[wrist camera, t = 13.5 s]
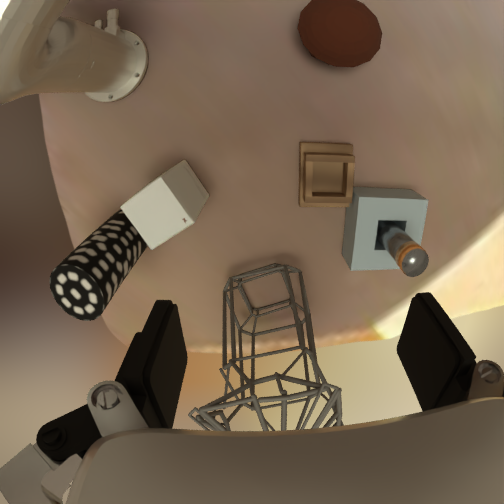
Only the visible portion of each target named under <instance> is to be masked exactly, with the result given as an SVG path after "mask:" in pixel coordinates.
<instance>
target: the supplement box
mask: <svg viewBox="0 0 504 504" xmlns="http://www.w3.org/2000/svg"><path fill="white" fill-rule="evenodd" d="M208 197H209V194H208V193H207V191H206V190H205V188H204V187H203V185H202V184H201V182H200V181H199V179H198V178H197V176H196V175H195V173H194V172H193V170H192V169H191V167H190V166H189V164H188V163H187V162H186V160H182V161H181V162H179V163H178V164H176V165H175V166H173V167H172V168H170V169H169V170H167V171H166V172H164V173H163V174H161V175H160V176H159V177H157V178H156V179H154V180H153V181H152V182H150V183H149V184H148V185H146V186H145V187H144V188H142V189H141V190H140V191H138V192H137V193H136V194H135V195H133V196H132V197H131V198H130V199H129V200H127V201H126V202H125V203H124V204H123V205H122V206H121V207H120V208H121V209H122V210H123V212H124V213H125V215H126V216H127V217H128V219H129V220H130V221H131V223H132V224H133V225H134V227H135V228H136V229H137V231H138V232H139V234H140V235H141V236H142V238H143V239H144V241H145V242H146V243H147V245H148V246H149V248H150V249H151V250H152V249H154V248H156V247H158V246H159V245H161V244H162V243H164V242H165V241H167V240H168V239H170V238H172V237H173V236H175V235H176V234H178V233H179V232H181V231H182V230H184V229H186V228H187V227H189V226H190V225H192V224H194V223H195V221H196V219H197V217H198V216H199V214H200V212H201V210H202V208H203V206H204V205H205V203H206V201H207V199H208Z"/></svg>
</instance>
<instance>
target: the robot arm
mask: <svg viewBox="0 0 504 504" xmlns="http://www.w3.org/2000/svg"><path fill="white" fill-rule="evenodd" d="M68 2H69V0H0V105H2V104H4V103H7V102H10V101H12V100H14V99H17V98H20V97H22V96H26V95H30V94H38V93H66V92H84V93H85V94H86V95H87V96H88V97H90V98H91V99H93V100H95V101H99V102H113V101H117V100H120V99H122V98H124V97H126V96H127V95H129V94H130V93H131V92H133V91H134V90H135V88H136V87H137V86H138V85H139V84H140V82H141V81H142V79H143V77H144V75H145V73H146V69H147V65H148V52H147V49H146V46H145V44H144V42H143V41H142V39H141V38H140V37H139V36H138V35H136V34H134V33H132V32H130V31H128V30H122V29H120V26H118V19H119V10H118V9H111V10H108V11H107V27H106V28H105V31H104V30H102V27H103V20H97V21H95V25H94V26H92V25H89V24H87V23H84V22H81V21H79V20H76V19H73V18H69V17H59V16H60V14H61V13H62V11H63V10H64V8H65V7H66V5H67V3H68ZM138 43H139V45H138ZM139 74H140V76H139V77H138V75H139ZM112 96H113V98H112ZM397 354H398V356H399V358H400V360H401V362H402V365H403V367H404V369H405V371H406V374H407V376H408V378H409V380H410V382H411V385H412V387H413V389H414V392H415V394H416V396H417V399H418V401H419V404H420V406H421V408H422V411H423V412H419V413H415V414H410V415H405V416H400V417H395V418H390V419H384V420H379V421H372V422H366V423H360V424H352V425H345V426H335V427H326V428H315V429H302V430H285V431H206V430H187V429H172V427H173V423H174V418H175V413H176V409H177V404H178V400H179V395H180V391H181V387H182V382H183V378H184V373H185V369H186V365H187V351H186V347H185V342H184V337H183V332H182V328H181V323H180V318H179V312H178V307H177V305H176V304H173V303H172V301H171V300H156V302H155V304H154V306H153V308H152V310H151V313H150V315H149V317H148V319H147V322H146V324H145V326H144V328H143V330H142V332H137V333H136V334H135V336H134V338H133V340H132V342H131V344H130V347H129V349H128V351H127V353H126V356H125V358H124V360H123V362H122V365H121V367H120V369H119V372H118V374H117V376H116V379H115V381H103V382H100V383H98V384H96V385H95V386H94V387H93V388H91V389H90V391H89V393H88V396H87V403H88V404H86V405H84V406H82V407H80V408H78V409H76V410H74V411H72V412H69V413H67V414H65V415H64V416H61V417H59V418H57V419H55V420H52V421H50V422H48V423H46V424H45V425H43V426H42V427H41V428H40V430H39V432H38V434H37V439H36V441H37V442H36V443H35V444H34V445H31V443H30V444H29V445H28V446H26V447H25V448H24V449H23V450H22V451H20V452H19V453H18V454H17V455H16V456H15V457H13V458H12V459H11V460H10V461H9V462H7V463H6V464H5V465H4V466H3V467H2V468H1V469H0V491H1V492H2V494H3V496H4V497H5V499H6V500H7V501H8V503H9V504H63V503H62V497H63V494H64V493H65V491H66V490H67V489H68V488H69V487H70V486H71V488H70V492H69V495H68V498H67V501H66V504H504V373H503V370H502V369H501V367H500V366H499V365H498V364H496V363H495V362H493V361H489V360H482V361H479V362H478V363H476V361H475V358H476V356H475V354H474V352H473V351H472V349H471V348H470V346H469V345H468V344H467V342H466V341H465V339H464V338H463V336H462V335H461V333H460V332H459V331H458V329H457V328H456V327H455V325H454V324H453V322H452V321H451V319H450V318H449V317H448V315H447V314H446V312H445V311H444V310H443V308H442V307H441V306H440V304H439V303H438V302H437V300H436V299H435V298H434V297H433V295H432V294H431V293H429V292H426V293H417V294H416V295H415V297H413V298H412V300H411V304H410V307H409V311H408V314H407V317H406V320H405V324H404V327H403V330H402V333H401V336H400V339H399V342H398V345H397ZM72 480H73V482H72V485H70V484H69V483H71V481H72Z"/></svg>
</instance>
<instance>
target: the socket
mask: <svg viewBox="0 0 504 504" xmlns="http://www.w3.org/2000/svg"><path fill="white" fill-rule="evenodd" d="M427 205H428V200H427V199H426V198H424V197H423V196H421V195H420V194H418V193H416V192H415V191H413V190H409V189H392V188H371V187H353V194H352V203H349V207H346V217H345V228H344V238H343V248H342V255H343V257H344V259H345V261H346V262H347V264H348V266H349V268H350V270H351V271H353V270H383V269H400V268H399V266H398V265H397V264H396V261H395V260H394V259H393V258H392V256H391V255H390V254H389V253H388V252H387V250H386V249H385V248H384V247H383V246H382V244H381V243H380V242H379V241H378V240H377V238H376V234H377V227H378V220H393V221H394V222H395V223H396V224H397V225H398V226H399V227H400V228H401V229H402V230H403V231H404V232H405V233H407V234H408V235H409V236H410V237H411V238H412V239H413V240H414V241H415V242H416V243H418V244H419V245H421V240H422V234H423V229H424V224H425V218H426V212H427Z"/></svg>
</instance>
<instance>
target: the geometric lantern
mask: <svg viewBox="0 0 504 504" xmlns="http://www.w3.org/2000/svg"><path fill="white" fill-rule="evenodd" d="M273 266H275V267H273ZM270 267H273V268H270ZM266 268H269V269H266ZM283 268H284V269H283ZM263 269H264V270H263ZM288 269H290V270H293V271H288ZM280 270H281V271H280ZM284 270H285V271H284ZM270 271H273V272H270ZM266 272H269V273H266ZM277 272H279V273H281V274H282V276H283V279H284V281H285V284H286V287H287V289H288V292H289V294H290V299H289V300H286V301H283V302H279V303H276V304H273V305H269V306H266V307H262V308H259V309H255V308H252V307H251V305H250V303H249V301H248V299H247V296H246V294H245V292H244V290H243V288H242V285H241V283H245V282H248V281H251V280H254V279H258V278H261V277H264V276H267V275H270V274H273V273H277ZM297 272H298V273H299V279H300V286H301V293H302V300H303V307H304V309H303V308H302V307H301V306H299V305H298V304H297V303H295V299H294V295H293V290H292V285H291V281H290V276H289V273H297ZM262 273H266V274H263V275H260V276H257V277H254V278H250V279H247V280H244V281H242V278H244V277H248V276H253V275H257V274H262ZM235 279H238V280H235ZM233 281H234V282H237V283H238V286H236V287H233ZM229 284H230V289H227V288H228V286H229ZM237 288H238V289H239V291H240V293H241V295H242V297H243V299H244V301H245V303H246V305H247V307H248V309H249V311H250V313H251V315H250V316H249V317H248V319H247V320H246V321H245V322H244V323H243V325H242V326H241V327H240V325H239V322H238V320H237V317H236V315H235V312H234V298H233V290H234V289H237ZM240 288H241V289H240ZM241 290H242V291H241ZM228 291H230V300H229V297H228V295H227V292H228ZM242 292H243V293H242ZM226 301H227V303H228V306H229V308H230V318H231V348H232V359H230V360H229V363H228V364H227V331H226ZM286 302H289V305H288V306H285V307H282V308H278V309H275V310H272V311H269V312H266V313H263V314H260V315H259V310H262V309H266V308H269V307H273V306H276V305H280V304H283V303H286ZM296 306H297V307H299V308H300V309H301V310H302V311H304V314H305V318H304V319H303V320H302V321H300V319H299V317H298V313H297V309H296ZM288 307H291V308H292V310H293V314H294V319H295V324H292V325H288V326H284V327H280V328H275V329H271V330H266V331H262V332H257V333H254V332H255V327H256V321H257V317H260V316H263V315H266V314H269V313H273V312H276V311H279V310H282V309H285V308H288ZM253 310H255V311H257V315H255V314H253ZM252 316H255V321H254V327H253V332H252V333H250V332H247V331H245V330H243V329H242V328H243V327H244V325H245V324H246V323H247V322H248V320H249V319H250V318H251V317H252ZM304 322H306V330H307V337H308V345H309V349H308V347H305V339H304V331H303V324H304ZM235 323H236V325H237V328H238V336H239V358H236V342H235ZM292 327H296V329H297V335H298V340H299V345H300V346H296V347H291V348H287V349H282V350H277V351H272V352H267V353H262V354H257V355H255V336H257V335H262V334H266V333H271V332H275V331H280V330H284V329H288V328H292ZM241 332H242V333H245V334H247V335H250V336H252V350H251V356H247V357H243V356H242V336H241ZM296 349H301V350H302V353H301V354H300V355H299V356H298V357H297V358H296V359H295V360H294V362H293V363H292V364H291V365H290V366H289V367H288V368H287V369H286V370H285V372H284V373H283V374H278V373H277V372H275V374H274V375H270V376H267V377H263V378H259V379H256V380H255V376H254V375H255V372H254V370H255V368H254V367H255V364H254V363H255V358H258V357H263V356H268V355H272V354H278V353H283V352H287V351H292V350H296ZM306 354H308V355H309V357H310V359H311V361H312V365H313V370H314V374H315V379H316V382H311V381H309V373H308V364H307V356H306ZM302 355H303V358H304V367H305V377H306V380H303V379H298V378H293V377H290V376H286V375H285V374H286V373H287V372H288V371H289V370H290V369H291V368H292V367H293V366H294V364H295V363H296V362H297V361H298V360H299V359H300V357H301V356H302ZM247 359H251V379H249V378H248V377H247V376H246V375H245V374H244V372H243V360H247ZM236 361H240V368H239V367H238V366H237V365H236V364H235V363H236ZM231 366H233V367H234V369H235V370H236V371H237V372H238V373H239V375H240V382H241V387H240V388H238V389H236V390H234V389H233V387H232V386H231V384H230V382H229V371H230V367H231ZM223 369H224V370H226V369H227V376H226V375H225V373H224V371H223V370H222V368H220V369H219V370H220V372H221V374H222V375H223V377H224V379H225V381H226V384H225V394H224V396H222V397H221V398H218V399H216V400H215V401H213V402H211V403H209V404H207V405H205V406H202V407H200V408H199V410H198V409H197V408H196V407H195V408H194V409H193V410H192V411H191V412H190V413H189V414H188V416H189V417H190V418H191V419H193V420H194V421H195V422H196V423H197V424H199V425H200V426H201V427H202V428H204V429H205V430H206V431H210V430H209V429H208V428H210V429H212V430H213V431H231V430H230V426H229V422H230V420H231V419H232V418H233V417H234V416H235V414H236V413H237V412H238V411H239V410H240V408H241V407H242V406H243V405H244V406H246V407H247V408H249V409H251V410H255V411H256V412H257V415H258V418H259V421H260V423H261V426H262V429H263V431H269V430H268V427H267V425H268V426H269V427H270V428H271V429H272V431H275V430H274V429H273V427H272V426H271V425H270V424H269V423H268V422H267V421H266V419H265V418H264V416H263V413H262V410H261V409H265V408H271V407H276V406H281V407H282V408H281V409H282V410H281V431H285V430H286V424H287V423H286V421H287V404H292V403H296V402H302V401H306V403H305V406H304V409H303V411H302V414H301V416H300V419H299V422H298V424H297V427H296V430H299V429H300V426H301V423H302V421H303V418H304V415H305V413H306V410H307V407H308V404H309V402H310V399H311V398H313V397H315V396H316V398H315V401H314V403H313V405H312V407H311V409H310V411H309V413H308V415H307V417H306V419H305V421H304V423H303V425H302V427H301V429H300V430H302V429H304V428H305V426H306V424H307V422H308V420H309V418H310V416H311V414H312V411H313V410H314V408H315V405H316V403H317V401H318V399H319V397H320V395H321V396H323V398H325V399H326V400H327V401H328V402H327V403H326V405H325V407H324V408H323V410H322V412H321V413H320V415H319V417H318V418H317V420H316V422H315V423H314V425H313V427H312V428H311V429H315V428H319V426H320V424H321V423H322V421H323V420H324V418H325V417H326V415H327V414H328V412H329V410H330V409H331V407H332V409H333V411H334V414H333V415H332V416H331V418H330V419H329V420H328V421H327V423H326V424H325V425H324V427H323V428H326V427H329V426H330V425H331V424H332V423H333V421H334V420H335V419H336V420H337V422H336V423H335V424H334V425H333V426H332V427H335V426H344V425H343V423H342V420H341V419H342V402H341V391H342V390H341V388H339V387H337V386H334V385H331V384H328V383H327V381H326V379H325V377H324V376H323V374H322V371H321V370H320V368H319V366H318V364H317V356H316V349H315V342H314V335H313V329H312V322H311V314H310V310H309V305H308V300H307V295H306V290H305V285H304V281H303V276H302V271H301V270H299V269H297V268H294V267H292V266H289V265H279V264H272V265H269V266H266V267H263V268H259V269H256V270H253V271H250V272H247V273H243V274H240V275H238V276H233V277H230V278H229V279H228V281H227V283H226V285H225V287H224V290H223ZM319 377H320V378H319ZM275 379H276V381H277V384H278V388H279V391H280V393H281V394H282V395H281V396H271V397H260V398H258V399H257V396H256V395H255V394H254V392H255V391H254V389H255V386H254V385H256V384H259V383H263V382H267V381H271V380H275ZM280 379H281V380H285V381H289V382H293V383H297V384H301V385H305V386H307V391H303V392H299V393H294V394H290V395H287V391H286V390H283V388H282V384H281V381H280ZM320 379H321V381H322V384H321V383H320ZM244 380H245V382H246V383H247V384H245V385H244ZM228 386H229V388H230V389H231V391H232V392H230V393H228V394H227V388H228ZM310 387H313V388H315V389H311V390H310ZM330 387H331V388H334V389H335V390H334V391H333V392H332V391H331V389H330ZM248 388H250V394H251V396H250V397H247V398H245V392H244V391H245V390H246V389H248ZM325 391H327V393H328V395H329V396H330V398H329V399H328V398H327V397H326V396H325V395H323V394H322V392H325ZM239 393H241V399H239V398H238V396H237V394H239ZM233 396H235V398H236V400H235V401H230V402H226V400H227V399H229V398H231V397H233ZM305 396H308V397H307V398H304V399H299V400H294V401H289V402H287V400H292V399H296V398H300V397H305ZM274 401H282V403H279V404H274V405H268V406H262V407H260V405H259V402H260V403H261V402H274ZM222 402H223V403H222ZM248 402H251V405H249V404H247V403H248ZM220 403H221V404H220ZM235 405H239V406H238V407H237V408H236V409H235V410H234V411H233V413H232V414H231V415H230V416H229V417H228V418H227V419H226V417H225V415H224V413H223V410H218V411H216V410H217V409H222V408H223V409H225V408H226V407H231V406H235ZM213 410H214V411H213ZM194 411H196V412H197V413H199V414H200V415H197V416H196V419H195V418H194V417H193V416H192V414H193V413H194ZM208 411H213V412H209V413H207V412H208ZM216 415H220V416H221V418H222V420H223V422H224V423H221V424H220V423H219V422H218V421H217V420H215V416H216ZM204 419H205V420H204ZM204 425H205V426H207V427H208V428H207V427H205V426H204ZM223 425H224V426H225V427H226V428H225V427H224V426H223Z"/></svg>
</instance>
